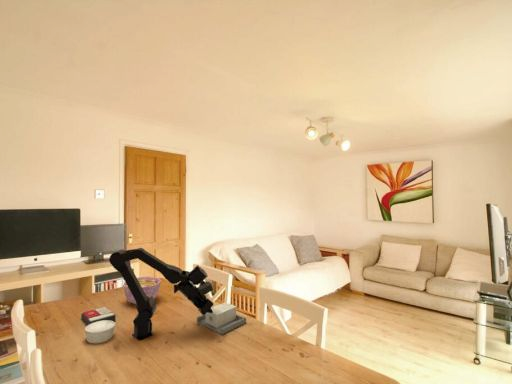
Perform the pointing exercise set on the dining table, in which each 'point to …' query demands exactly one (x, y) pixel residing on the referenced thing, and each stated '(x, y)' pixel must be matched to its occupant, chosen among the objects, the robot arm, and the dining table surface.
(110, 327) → the ramekin
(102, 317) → the red and grey box
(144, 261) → the robot arm
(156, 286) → the bowl of food
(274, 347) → the dining table surface
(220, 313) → the small box
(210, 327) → the tray
